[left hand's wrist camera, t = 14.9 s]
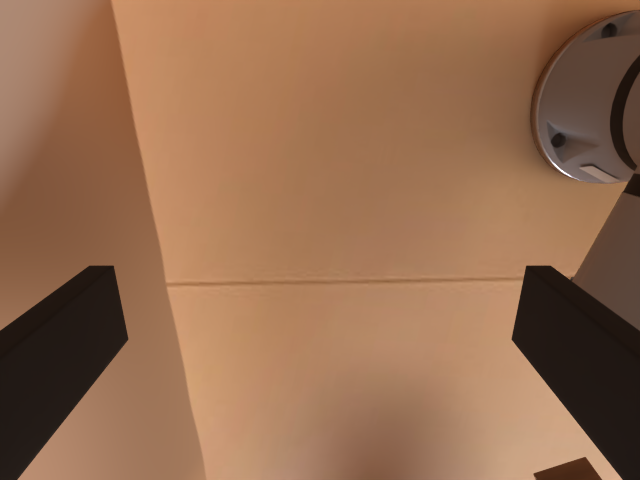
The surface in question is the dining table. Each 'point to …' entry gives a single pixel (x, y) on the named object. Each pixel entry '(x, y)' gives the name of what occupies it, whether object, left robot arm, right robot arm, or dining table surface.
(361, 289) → the dining table surface
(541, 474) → the bar
